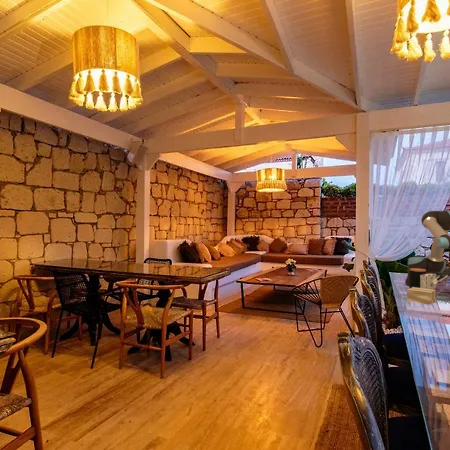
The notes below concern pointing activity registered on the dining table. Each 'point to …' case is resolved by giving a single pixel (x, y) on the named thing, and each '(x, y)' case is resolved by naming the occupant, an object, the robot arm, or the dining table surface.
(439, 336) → the dining table surface
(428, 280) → the candy bar box
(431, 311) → the dining table surface
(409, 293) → the ash block
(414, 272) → the coffee jar
